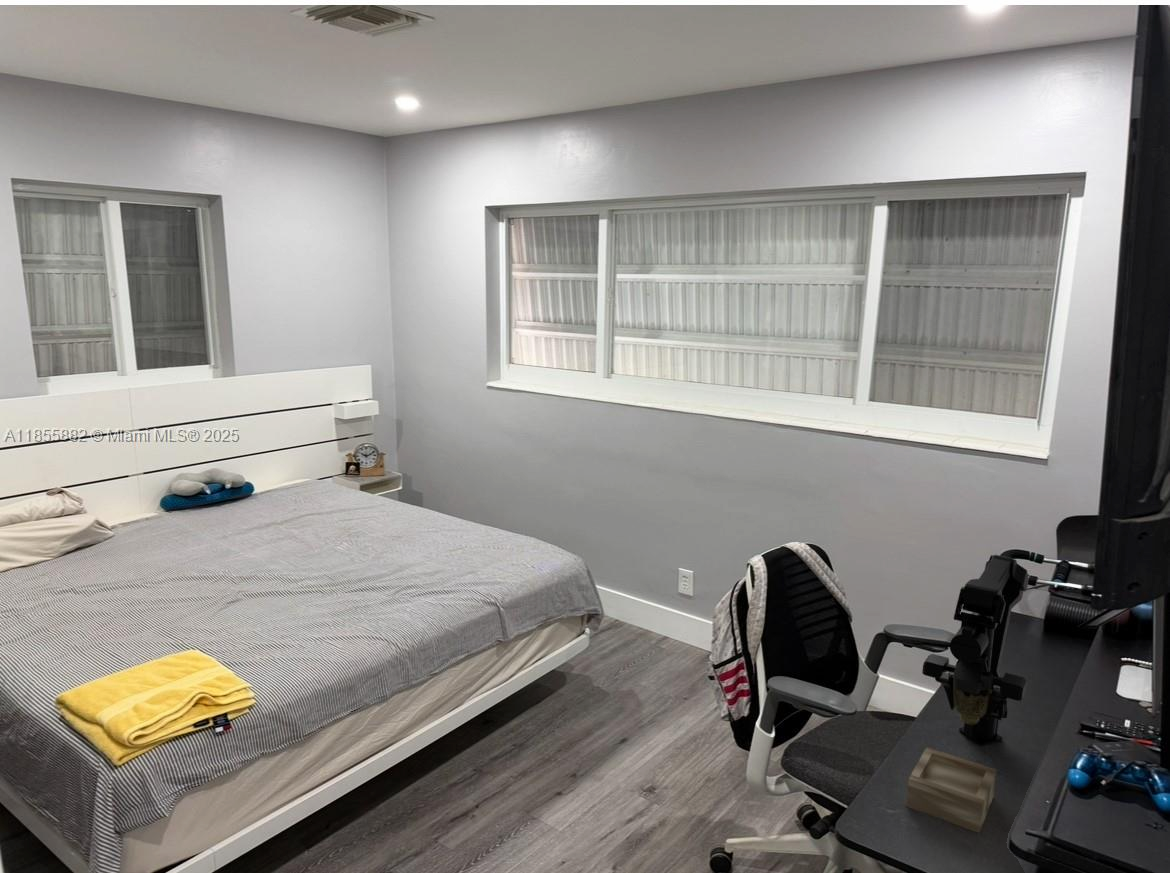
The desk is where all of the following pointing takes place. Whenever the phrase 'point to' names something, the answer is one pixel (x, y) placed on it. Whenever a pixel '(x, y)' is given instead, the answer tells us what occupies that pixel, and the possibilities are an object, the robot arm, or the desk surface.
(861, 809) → the desk surface
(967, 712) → the cup
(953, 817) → the wooden box
